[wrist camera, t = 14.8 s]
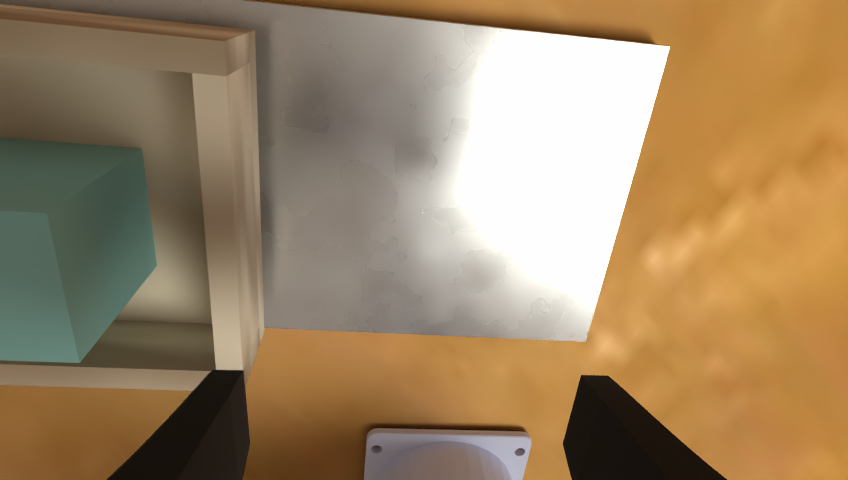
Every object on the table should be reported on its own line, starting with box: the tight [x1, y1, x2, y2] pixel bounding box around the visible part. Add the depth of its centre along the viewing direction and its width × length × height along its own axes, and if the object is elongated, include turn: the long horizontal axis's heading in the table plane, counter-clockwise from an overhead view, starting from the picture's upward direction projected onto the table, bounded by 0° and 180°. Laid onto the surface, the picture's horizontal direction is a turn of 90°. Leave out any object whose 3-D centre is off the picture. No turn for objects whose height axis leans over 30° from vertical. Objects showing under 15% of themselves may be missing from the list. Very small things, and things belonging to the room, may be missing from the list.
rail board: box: [0, 0, 670, 342], centre depth 18 cm, size 12×27×3 cm, turn 84°
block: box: [0, 138, 157, 363], centre depth 14 cm, size 4×4×5 cm
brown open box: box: [0, 4, 264, 391], centre depth 16 cm, size 11×11×4 cm
